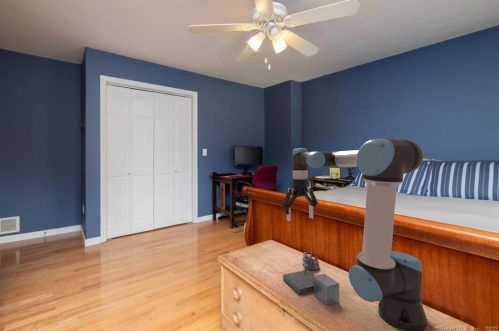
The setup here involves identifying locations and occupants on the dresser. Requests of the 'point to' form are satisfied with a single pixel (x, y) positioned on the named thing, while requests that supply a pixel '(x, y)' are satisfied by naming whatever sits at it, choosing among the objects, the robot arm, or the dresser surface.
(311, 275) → the steel plate
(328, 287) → the block
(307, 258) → the grey red bumpy cluster
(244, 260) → the dresser surface
